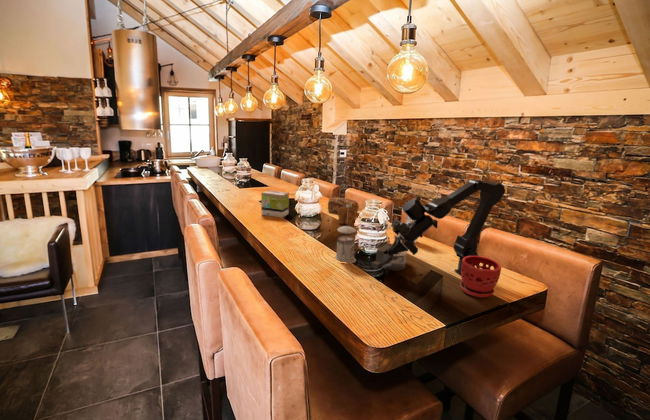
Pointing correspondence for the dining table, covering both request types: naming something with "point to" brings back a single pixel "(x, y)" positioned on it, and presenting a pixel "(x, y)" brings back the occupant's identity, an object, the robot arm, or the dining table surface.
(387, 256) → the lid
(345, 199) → the bread
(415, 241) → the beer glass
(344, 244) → the french press
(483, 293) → the plant pot
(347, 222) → the stuffed squirrel
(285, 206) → the tea box
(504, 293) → the dining table surface
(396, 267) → the pot
